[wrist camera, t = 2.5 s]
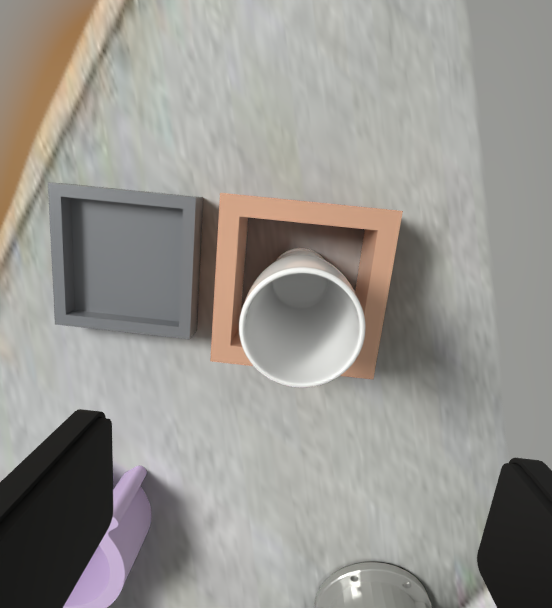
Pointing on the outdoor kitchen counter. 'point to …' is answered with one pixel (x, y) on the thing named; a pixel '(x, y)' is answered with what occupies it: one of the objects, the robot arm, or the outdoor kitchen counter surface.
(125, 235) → the charcoal tray
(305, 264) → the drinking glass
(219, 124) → the outdoor kitchen counter surface
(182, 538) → the outdoor kitchen counter surface
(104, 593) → the clip
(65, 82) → the outdoor kitchen counter surface
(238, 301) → the terracotta holder
